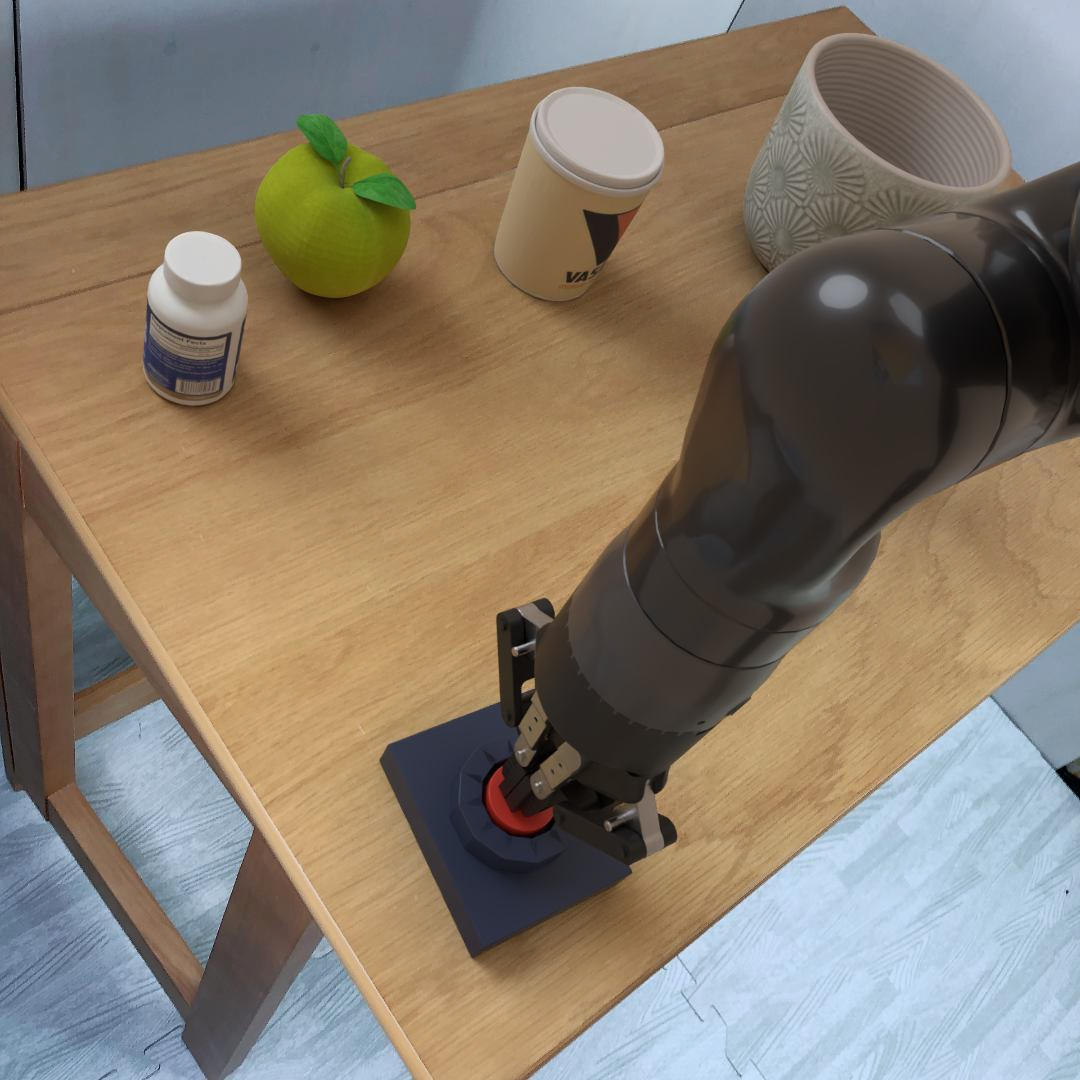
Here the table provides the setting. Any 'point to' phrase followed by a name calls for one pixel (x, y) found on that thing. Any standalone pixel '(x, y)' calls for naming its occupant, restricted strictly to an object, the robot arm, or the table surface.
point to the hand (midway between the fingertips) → (521, 794)
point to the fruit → (332, 213)
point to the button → (502, 815)
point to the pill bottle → (195, 320)
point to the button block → (487, 834)
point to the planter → (868, 147)
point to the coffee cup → (575, 191)
